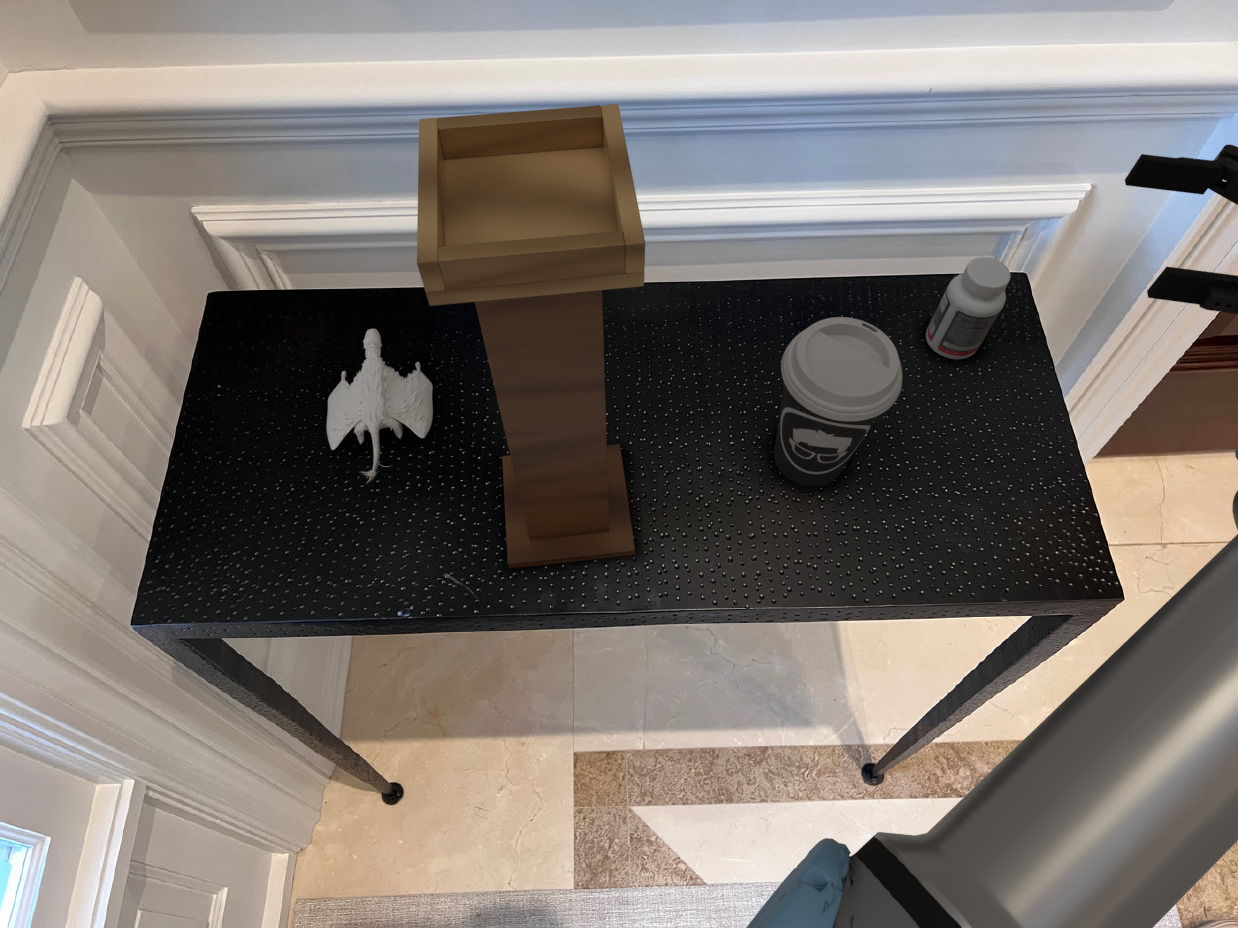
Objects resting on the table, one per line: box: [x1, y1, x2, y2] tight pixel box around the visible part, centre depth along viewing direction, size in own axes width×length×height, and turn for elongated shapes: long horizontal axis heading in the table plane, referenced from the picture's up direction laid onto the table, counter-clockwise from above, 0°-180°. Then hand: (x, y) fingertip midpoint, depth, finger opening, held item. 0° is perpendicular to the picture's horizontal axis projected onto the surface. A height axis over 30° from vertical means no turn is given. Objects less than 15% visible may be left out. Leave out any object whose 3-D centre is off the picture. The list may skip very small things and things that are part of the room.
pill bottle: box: [925, 256, 1011, 360], centre depth 77 cm, size 5×5×10 cm
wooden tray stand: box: [416, 103, 646, 569], centre depth 56 cm, size 11×11×36 cm
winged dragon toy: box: [326, 328, 434, 485], centre depth 75 cm, size 18×10×4 cm, turn 9°
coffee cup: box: [773, 316, 903, 488], centre depth 68 cm, size 10×10×15 cm
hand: (1144, 223), depth 66 cm, fingers open, 13 cm apart
